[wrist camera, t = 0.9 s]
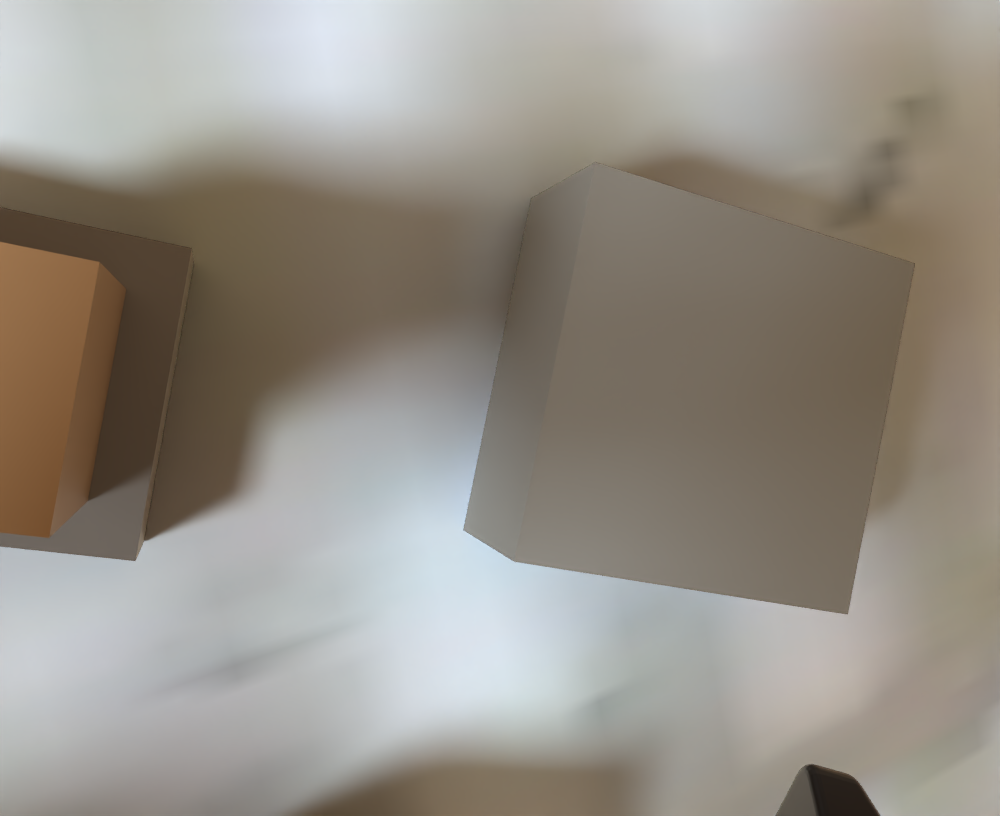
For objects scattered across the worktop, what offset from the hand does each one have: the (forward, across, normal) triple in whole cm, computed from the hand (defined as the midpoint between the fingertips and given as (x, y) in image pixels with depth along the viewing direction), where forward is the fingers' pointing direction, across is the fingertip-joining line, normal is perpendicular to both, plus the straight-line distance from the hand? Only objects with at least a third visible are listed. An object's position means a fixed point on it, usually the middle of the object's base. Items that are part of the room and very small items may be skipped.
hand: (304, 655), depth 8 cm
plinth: (+8, +9, +4) cm, 13 cm away
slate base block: (+15, -3, +4) cm, 16 cm away
